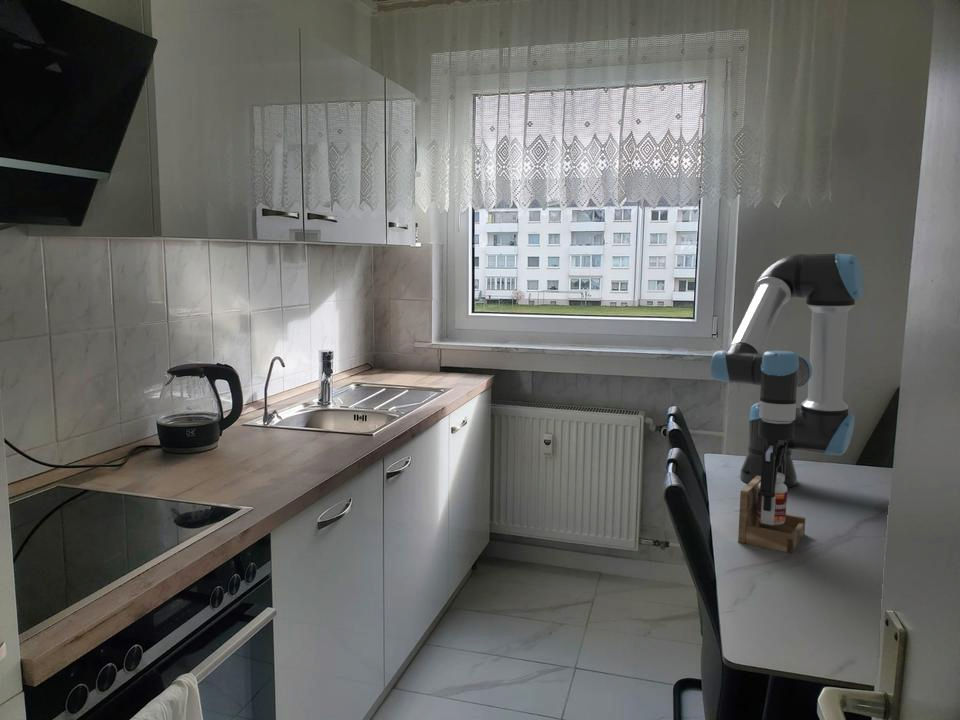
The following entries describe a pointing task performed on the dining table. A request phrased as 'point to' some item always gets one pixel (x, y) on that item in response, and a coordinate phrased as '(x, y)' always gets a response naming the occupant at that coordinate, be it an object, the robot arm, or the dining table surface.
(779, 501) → the pill bottle
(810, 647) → the dining table surface
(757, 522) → the brown wooden l-shaped frame
